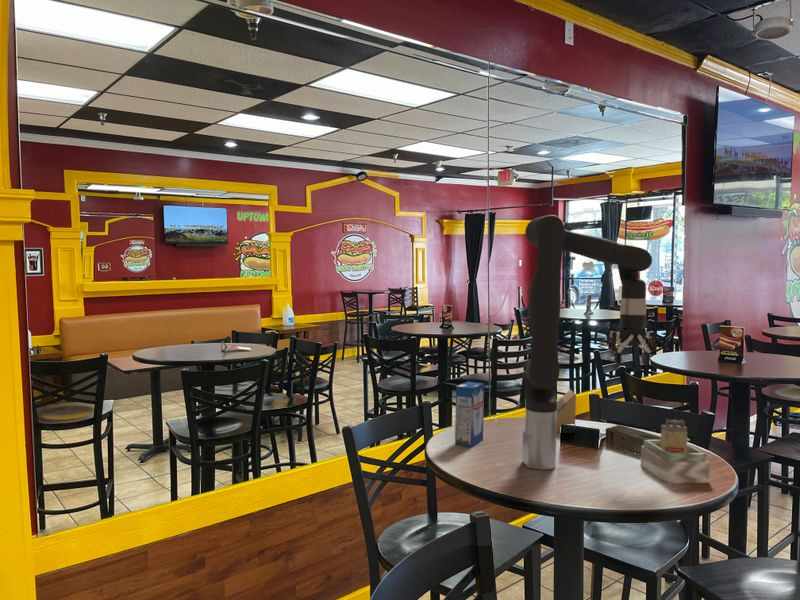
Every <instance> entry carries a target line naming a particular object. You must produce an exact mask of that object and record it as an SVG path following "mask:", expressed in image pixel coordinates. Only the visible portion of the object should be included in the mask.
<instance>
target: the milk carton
mask: <svg viewBox="0 0 800 600" xmlns="http://www.w3.org/2000/svg"><path fill="white" fill-rule="evenodd" d="M484 392H485V383H483V382H476V381H475V382H474V381H465V382H463V383H460V384H459V385H456V386H455V426H454V427H455V429H454V431H455V432H454V433H455V434H454V435H455V436H454V439H455V441H454V445H456V446H460V447H461V446H462V447H468V448H474V447H475V446H476V445H478V444H479V443H481V442H482V441H484V413H485V412H484V406H485V405H484V404H485V401H484V400H485V393H484Z"/></svg>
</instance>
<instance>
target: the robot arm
mask: <svg viewBox="0 0 800 600" xmlns="http://www.w3.org/2000/svg"><path fill="white" fill-rule="evenodd" d="M525 237H526V240H527V241H528V242H529V243H530V245H532V246H534V247H537V263H536V264H537V265H536V267H535V268H536V269H535V272H534V275H533V277H532V280H531V283H530V286H529V290H528V320H529V328H530V334H531V342H532V343H531V345H532V346H531V354H530V355H531V356H530V358H529V360H528V361H527V362H526V365H525V369H524V399H525V413H524V414H525V416H524V420H525V421H524V422H525V423H524V425H525V426H524V430H523V432H522V457H521V458H522V463H523V464H524V466H526V467H527V469H534V470H538V471H539V470H540V471H542V470H543V471H545V470H546V471H547V470H552V469H554V468H556V467H557V465H556V463H557V433H556V426H557V401H558V400H557V395H556V384H557V383H558V381H559V378H560V365H559V364H560V363H559V348H558V340H559V331H560V319H561V317H560V316H561V300H562V299H561V296H562V295H561V288H562V287H561V286H562V285H561V283H562V282H561V281H562V259H563V251H564V252H569V253H572V254H576V255H578V256H582V257H584V258H589V259H591V260H593V261H598V262H601V263H604V264H608V265H617V269H618V274H619V279H620V282H621V299H620V307H619V331H613V330H611V331H609V334H608V335H609V337H608V345H607V346H608V347H607V349H608V350H609V351H611V352H613V353H614V358H613V360H614V363H615V365H618V366H621V365H622V352H623V350H624V349H625V348H626V347H628V346H636V347H637V346H638V347H639V348H640V349H641V350H642V352H641V364H642V365H645V366H648V364H649V363H650V353H651V352H654V351H656V350H657V342H656V341H657V340H656V338H657V337H656V331H652V330H651V331H650V330H649V331H646V327H647V300H646V297H647V284H646V283H647V282H645V281H644V280H643V279H641V277H640V274H639V272H643V271H646V270H648V269H649V268H650V267H651V266H652V264H653V258H652V255H651V253H650V252H649V251H648V250H647V249H646V248H645V249H644V248H643V247H639V246H636V245H635V246H634V245H629V244H623V243H619V242H617V241H613V240H611V239H607V238H604V237H600V236H596V235H592V234H587V233H586V234H584V233H578V232H575V231H570V230H567V229H566V227H565V224H564V222H563V221H562V219H561V217H559V216H557V215H555V214H548V215H543V216H538V217H536V218H533V219H532V220H530V221H529V222H528V223H527V225H526V228H525ZM645 338H647V342H646V341H645ZM617 339H620V340H619V341H618V342H617Z"/></svg>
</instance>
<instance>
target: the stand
mask: <svg viewBox="0 0 800 600" xmlns="http://www.w3.org/2000/svg"><path fill="white" fill-rule="evenodd" d="M707 455H708V454H707V453H706V452H703V451H701V449H698V448H696V447H694V446H692V445H691V444H688V443H687V452H686V453H669V452H667V451H665V450H664V449H662V448H661V440H644V446H641V456H640V466H641V467H643V468H644V469H645V470H646V471H649V472H650V473H651V474H653V475H654V476H656V477H657V478H659V479H661V481H663V482H665V483H666V484H700V483H701V484H705V483H707V484H709V481H710V480H709V479H710V461H709V460H707V458H708V456H707Z"/></svg>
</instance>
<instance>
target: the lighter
mask: <svg viewBox="0 0 800 600" xmlns="http://www.w3.org/2000/svg"><path fill="white" fill-rule="evenodd" d="M685 424H686V422H685V421H684V419H680V420H677V419H667V418H666V419H665V424H664V423H663V424H661V429H660V437H661V448H662V449H664V450H665V451H667V452H669V453H686V452H687V444H688V427H687V426H685Z"/></svg>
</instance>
